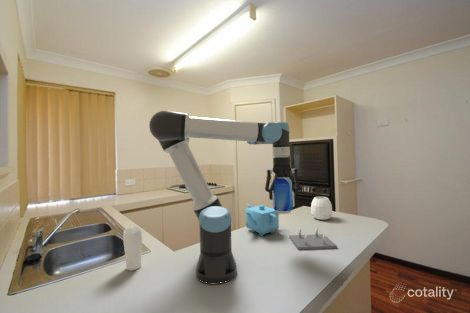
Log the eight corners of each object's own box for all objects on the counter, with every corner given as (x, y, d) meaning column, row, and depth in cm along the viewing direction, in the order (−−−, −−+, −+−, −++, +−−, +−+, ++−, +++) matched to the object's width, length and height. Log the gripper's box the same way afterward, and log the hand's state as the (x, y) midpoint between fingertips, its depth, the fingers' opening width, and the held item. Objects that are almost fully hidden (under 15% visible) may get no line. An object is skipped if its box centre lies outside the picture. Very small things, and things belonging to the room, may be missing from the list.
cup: (330, 222, 134) (330, 201, 134) (308, 219, 141) (308, 198, 141) (334, 217, 145) (333, 197, 145) (313, 214, 152) (313, 195, 152)
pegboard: (298, 249, 98) (297, 238, 98) (289, 237, 112) (289, 227, 112) (337, 248, 99) (336, 237, 99) (323, 236, 113) (323, 226, 113)
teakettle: (279, 238, 112) (278, 210, 111) (242, 236, 115) (242, 209, 115) (278, 226, 130) (278, 201, 130) (247, 225, 133) (246, 201, 133)
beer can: (295, 210, 101) (294, 176, 100) (289, 215, 94) (287, 178, 93) (277, 208, 105) (276, 175, 105) (270, 212, 98) (269, 177, 98)
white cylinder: (125, 265, 88) (123, 228, 88) (143, 261, 91) (142, 226, 90) (123, 274, 82) (122, 234, 81) (143, 269, 84) (142, 231, 84)
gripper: (259, 157, 95) (261, 209, 95) (307, 156, 95) (308, 207, 96) (257, 157, 102) (258, 205, 103) (301, 155, 103) (303, 203, 103)
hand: (282, 206), depth 99 cm, fingers closed on beer can, 8 cm apart
